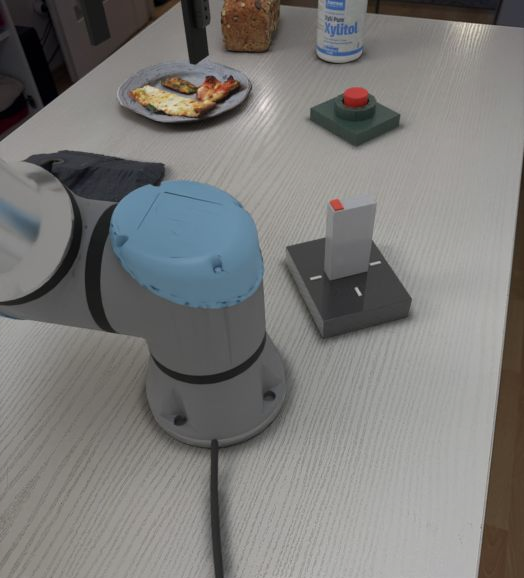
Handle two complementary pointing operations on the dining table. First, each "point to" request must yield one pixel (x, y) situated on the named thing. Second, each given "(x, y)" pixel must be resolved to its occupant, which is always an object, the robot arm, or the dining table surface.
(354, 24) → the supplement tub
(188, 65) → the food plate
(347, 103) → the power button
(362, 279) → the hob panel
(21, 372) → the dining table surface
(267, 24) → the bread
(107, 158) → the dark slate chunk
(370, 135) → the switch box
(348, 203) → the grey block red corner
